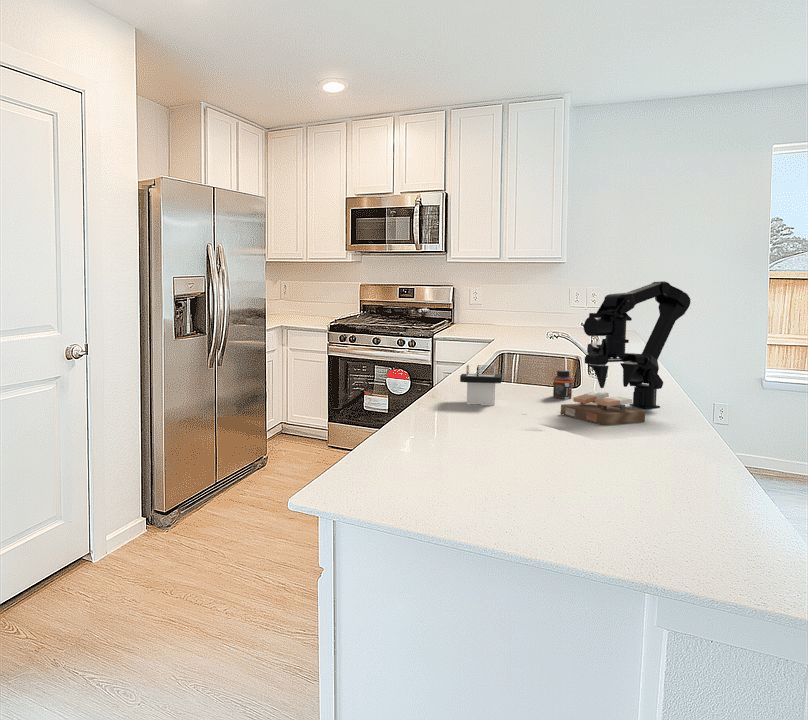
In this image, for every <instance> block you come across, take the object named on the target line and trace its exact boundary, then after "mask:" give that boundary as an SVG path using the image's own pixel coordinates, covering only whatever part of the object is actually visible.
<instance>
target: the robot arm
mask: <svg viewBox="0 0 808 720" xmlns="http://www.w3.org/2000/svg"><path fill="white" fill-rule="evenodd" d="M653 298H654V300H655V301H656V303H658V311H659V315H658V318H657V320H656V323H655V325H654V327H653V329H652V331H651V333H650V336H649V337H648V340H647V342H646V343H645V346H644V348H643V350H642V352H641V353H634V352H626V344H629V343H630V342H629V341H630V340H629V339H627V322H628V321H629V322H631V321H632V317H631V316H629V314H628V313H629V312H630V311H631V310H633V309H634V308H635V307H636V305H638V304H640V303H642V302H645V301H648V300H651V299H653ZM690 305H691V297H690V296H689V294H688V293H687V292H685V291H683V290H682V289H680V288H677V287H675V286H673V285H671V284H670V283H669V282H668V281H664V280H661V281H653V282H651V283H649V284H647V285H644V286H641V287H639V288H638V287H637V288H635V289H632V290H629V291H627V292H617V293H610V294H607V295H605V296H604V300H603V301H602V303H601V305H600V307H599V308H598V310H597V311H596V312H589V313H588V317H587V318H586V319H585V321H584V324H583V332H584V333H585V335H587V336H589V337H605V338H602V340H601V344H596V343H593V342H592V343H588V344H587V353H586V355H585V356H584V364H587V366H588V367H590V368H591V369H592V370H593V372H594V373H595V376H596V378H597V381H598V384H599V387H600V389H605V385H606V380H607V376H608V371H609V365H607V364H608V363H618V362H619V363H620V366H621V368H622V385H623V387H625V388H627V387H628V385H629V386H630V387H633V389H634V390H633V396H632V403H631V404H629V405H630V406H632V407H637V408H641V409H655V408H657V407H658V408H660V407H661V406H660V405H657V391H658V390H659V389H662V388H663V385H664V381H663V380H662V378H661V377H660V375H659V374H658V373H659V369H660V367H659V361H658V360H659V357H660V355H661V353H662V351H663V349H664V347H665V344H666V343H667V340H668V339H669V336H670V333H671V331H672V330H673V328H674V325H675V324H676V321H678V319H680V318H681V317H682V316H684V315H685V314H686V312H687V311H688V309H689V307H690ZM621 362H622V363H621Z"/></svg>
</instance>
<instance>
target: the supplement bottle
mask: <svg viewBox="0 0 808 720" xmlns="http://www.w3.org/2000/svg"><path fill="white" fill-rule="evenodd" d="M572 389H573V379H572V377H570V371H569V370H566V369H565V370H564V369H563V370H562V369H561V370H556V376H554V377H553V390H552V398H554V399H556V400H557V399H558V400H572V397H573V394H572V393H573V390H572Z"/></svg>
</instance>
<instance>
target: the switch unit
mask: <svg viewBox="0 0 808 720" xmlns="http://www.w3.org/2000/svg"><path fill="white" fill-rule="evenodd" d="M561 414H564V415H563V416H565V415H566V416H565V417H569V418H574V419H578V420H582V421H585V422H590V423H592V424H593V423H594V424H598V425H602V426H608V425H609V426H610V425H619V424H620V425H621V424H633V423H642V422H643V423H644V422H645V421H646V410H641V409H637V408H631V407H627V406H626V404H622V405H620V408H617V407H613V406H604V405H599V404H595V403H593V402H590V403H587V404H583V403H578V402H576V403H565V404H560V415H561Z"/></svg>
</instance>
